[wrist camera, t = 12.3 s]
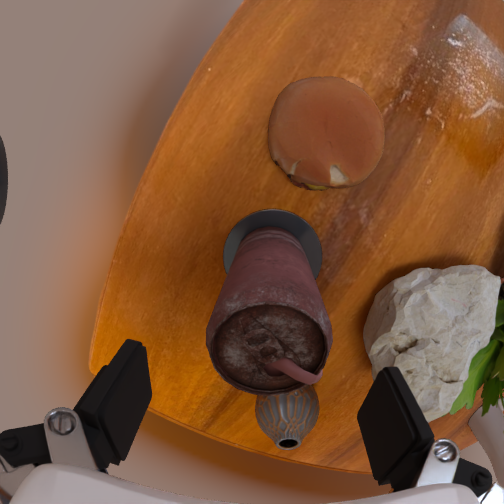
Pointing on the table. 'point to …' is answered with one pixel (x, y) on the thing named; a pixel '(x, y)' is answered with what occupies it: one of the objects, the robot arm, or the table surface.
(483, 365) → the potted flower
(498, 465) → the candle
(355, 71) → the table surface
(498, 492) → the robot arm
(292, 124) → the burger
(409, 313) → the stone
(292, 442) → the vase
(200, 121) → the table surface
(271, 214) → the coaster
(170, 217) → the table surface
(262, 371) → the can
